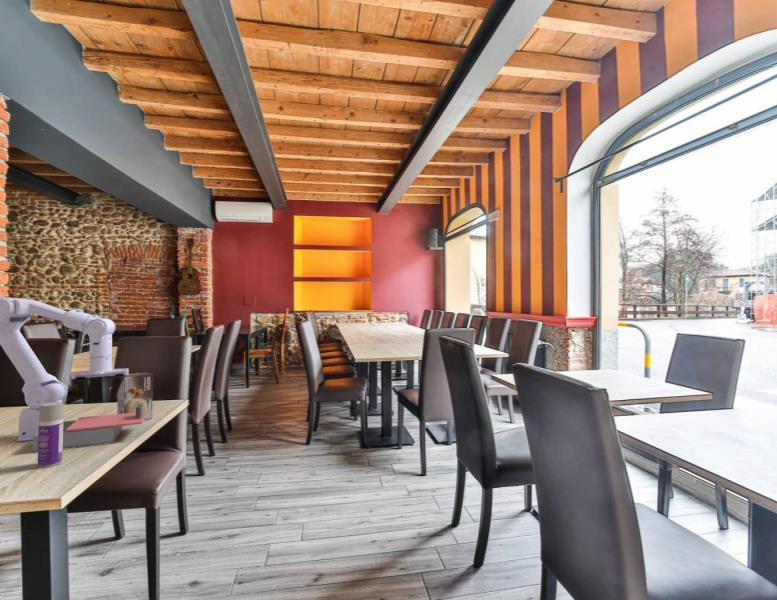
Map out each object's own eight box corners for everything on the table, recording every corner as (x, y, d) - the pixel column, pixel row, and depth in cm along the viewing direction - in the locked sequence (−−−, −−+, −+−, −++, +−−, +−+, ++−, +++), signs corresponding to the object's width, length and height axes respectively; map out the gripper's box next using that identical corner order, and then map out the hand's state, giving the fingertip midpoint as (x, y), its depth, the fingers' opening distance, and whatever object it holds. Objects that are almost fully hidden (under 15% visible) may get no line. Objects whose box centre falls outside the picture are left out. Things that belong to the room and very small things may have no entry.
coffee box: (145, 415, 143) (146, 371, 143) (152, 418, 139) (153, 373, 139) (116, 421, 135) (117, 374, 136) (123, 424, 132) (124, 376, 132)
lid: (65, 431, 108) (66, 417, 108) (79, 419, 121) (80, 406, 121) (141, 423, 116) (141, 410, 116) (147, 412, 129) (147, 400, 129)
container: (34, 469, 94) (36, 406, 95) (40, 462, 98) (42, 402, 99) (59, 465, 96) (61, 404, 97) (64, 459, 100) (66, 400, 101)
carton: (32, 452, 105) (33, 435, 105) (50, 437, 118) (51, 422, 118) (112, 443, 113) (113, 427, 113) (121, 429, 125) (122, 415, 126)
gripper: (68, 359, 116) (67, 405, 116) (125, 356, 122) (125, 399, 122) (74, 357, 122) (74, 400, 122) (129, 354, 129) (129, 395, 128)
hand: (100, 399), depth 122 cm, fingers open, 7 cm apart
